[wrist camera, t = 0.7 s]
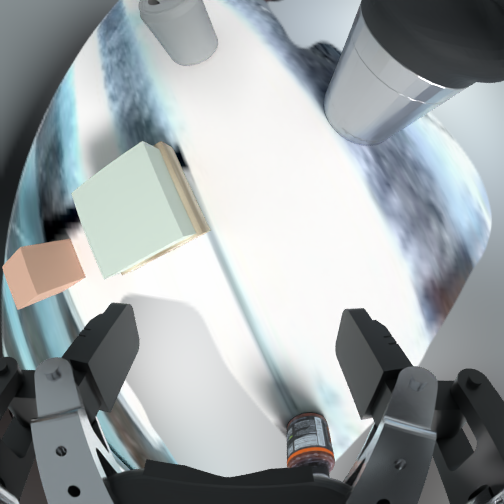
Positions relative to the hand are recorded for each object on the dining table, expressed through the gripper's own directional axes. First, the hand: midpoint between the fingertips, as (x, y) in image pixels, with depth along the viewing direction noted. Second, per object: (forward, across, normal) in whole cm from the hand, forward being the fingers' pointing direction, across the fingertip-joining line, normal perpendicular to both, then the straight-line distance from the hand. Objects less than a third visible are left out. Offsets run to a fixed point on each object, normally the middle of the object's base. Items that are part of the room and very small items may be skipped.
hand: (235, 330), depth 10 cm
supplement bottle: (+15, -10, +29) cm, 34 cm away
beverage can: (+27, +7, -21) cm, 35 cm away
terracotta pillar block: (+23, +26, +8) cm, 36 cm away
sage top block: (+20, +11, 0) cm, 23 cm away
